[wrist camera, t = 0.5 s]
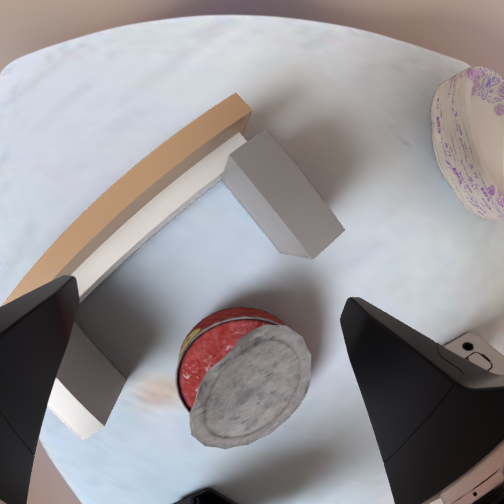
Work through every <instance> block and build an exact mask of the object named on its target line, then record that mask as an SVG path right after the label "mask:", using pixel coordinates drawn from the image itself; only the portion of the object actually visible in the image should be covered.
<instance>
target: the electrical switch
mask: <svg viewBox="0 0 504 504" xmlns="http://www.w3.org/2000/svg"><path fill="white" fill-rule="evenodd" d="M444 347H445V348H447V349H448V350H450V351H452V352H454V353H455V354H457V355H459V356H461V357H463V358H465V359H467V360H468V361H470V362H472V363H474V364H476V365H478V366H480V367H482V368H484V369H486V370H488V371H490V372H492V373H495V374H499V375H504V356H503V355H502V354H501V353H499V352H498V351H497V350H496V349H494V348H493V347H492V346H491V345H489V344H488V343H487V342H485V341H484V340H483V339H482V338H480V337H479V336H478V335H476V334H475V333H472V332H468V333H466V334H464V335H463V336H461V337H459V338H458V339H456V340H454V341H452V342H451V343H449V344H447V345H445V346H444Z"/></svg>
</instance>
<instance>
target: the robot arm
mask: <svg viewBox="0 0 504 504" xmlns="http://www.w3.org/2000/svg"><path fill="white" fill-rule="evenodd" d="M79 303H80V297H79V291H78V285H77V280H76V277H75V276H71V275H63V276H60V277H58V278H56V279H54V280H52V281H50V282H48V283H46V284H44V285H42V286H40V287H38V288H36V289H34V290H32V291H30V292H28V293H26V294H24V295H22V296H20V297H18V298H16V299H15V300H13V301H11V302H9V303H7V304H5V305H3V306H1V307H0V504H26V503H27V496H28V489H29V483H30V477H31V472H32V466H33V461H34V455H35V451H36V447H37V442H38V438H39V434H40V430H41V426H42V422H43V419H44V415H45V412H46V408H47V405H48V401H49V398H50V395H51V392H52V388H53V385H54V382H55V379H56V376H57V373H58V370H59V368H60V365H61V362H62V359H63V356H64V354H65V351H66V348H67V345H68V343H69V339H70V336H71V332H72V328H73V325H74V321H75V317H76V314H77V311H78V307H79ZM340 323H341V327H342V331H343V335H344V340H345V344H346V348H347V352H348V356H349V359H350V362H351V365H352V368H353V371H354V374H355V377H356V379H357V382H358V385H359V388H360V391H361V394H362V397H363V400H364V403H365V406H366V409H367V412H368V415H369V418H370V421H371V424H372V427H373V430H374V433H375V436H376V440H377V443H378V446H379V449H380V453H381V456H382V459H383V462H384V466H385V470H386V473H387V477H388V480H389V484H390V487H391V491H392V495H393V498H394V502H395V504H429V503H431V502H433V501H435V500H437V499H439V498H441V500H442V502H443V504H504V375H499V374H495V373H492V372H490V371H488V370H486V369H484V368H482V367H480V366H478V365H476V364H474V363H472V362H470V361H468V360H467V359H465V358H463V357H461V356H459V355H457V354H455V353H454V352H452V351H450V350H448V349H447V348H445V347H443V346H442V345H440V344H438V343H435V341H433V340H431V339H430V338H428V337H426V336H425V335H423V334H421V333H420V332H418V331H416V330H415V329H413V328H411V327H409V326H408V325H406V324H404V323H403V322H401V321H399V320H398V319H396V318H394V317H392V316H391V315H389V314H387V313H386V312H384V311H382V310H381V309H379V308H377V307H375V306H374V305H372V304H370V303H369V302H367V301H365V300H363V299H362V298H359V297H350V298H348V299H347V301H346V304H345V306H344V309H343V312H342V314H341V318H340ZM207 492H209V493H207ZM176 504H236V503H235V502H233V501H231V500H229V499H227V498H226V497H224V496H222V495H220V494H219V493H217V492H215V491H214V490H212V489H209V488H207V489H204V490H202V491H200V492H198V493H196V494H194V495H192V496H190V497H188V498H186V499H184V500H182V501H180V502H178V503H176Z"/></svg>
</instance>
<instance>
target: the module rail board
mask: <svg viewBox="0 0 504 504" xmlns="http://www.w3.org/2000/svg"><path fill="white" fill-rule="evenodd" d="M251 112H252V110H251V109H250V107H249V106H248V105H247V104H246V103H245V102H244V101H243V100H242V99H241V97H240V96H239V95H238V94H237V93H235V94H233V95H231V96H230V97H228V98H227V99H225V100H224V101H222V102H221V103H219V104H218V105H216V106H214V107H213V108H212V109H210V110H209V111H207V112H206V113H204V114H203V115H201V116H200V117H198V118H197V119H195V120H194V121H193V122H191V123H190V124H188V125H187V126H186V127H184V128H183V129H182V130H180V131H179V132H177V133H176V134H175V135H173V136H172V137H171V138H169V139H168V140H167V141H165V142H164V143H163V144H162V145H160V146H159V147H158V148H156V149H155V150H154V151H153V152H151V153H150V154H149V155H148V156H146V157H145V158H144V159H143V160H142V161H140V162H139V163H138V164H137V165H135V166H134V167H133V168H132V169H131V170H130V171H128V172H127V173H126V174H125V175H124V176H123V177H121V178H120V179H119V180H118V181H117V182H116V183H115V184H113V185H112V186H111V187H110V188H109V189H108V190H107V191H106V192H105V193H103V194H102V195H101V196H100V197H99V198H98V199H97V200H96V201H95V202H94V203H93V204H92V205H91V206H90V207H89V208H88V209H87V210H86V211H84V212H83V213H82V214H81V215H80V216H79V217H78V218H77V219H76V220H75V221H74V222H73V223H72V224H71V225H70V226H69V228H68V229H67V230H66V231H65V232H64V233H63V234H62V235H61V236H60V237H59V238H58V239H57V240H56V241H55V242H54V243H53V244H52V246H51V247H50V248H49V249H48V250H47V251H46V252H45V253H44V254H43V256H42V257H41V258H40V259H39V260H38V261H37V262H36V264H35V265H34V266H33V267H32V268H31V269H30V271H29V272H28V273H27V274H26V275H25V277H24V278H23V279H22V280H21V282H20V283H19V284H18V285H17V287H16V288H15V289H14V290H13V292H12V293H11V294H10V296H9V297H8V298H7V299H6V301H5V302H4V303H3V305H5V304H7V303H9V302H11V301H13V300H15V299H16V298H18V297H20V296H22V295H24V294H26V293H28V292H30V291H32V290H34V289H36V288H38V287H40V286H42V285H44V284H46V283H48V282H50V281H52V280H54V279H56V278H58V277H60V276H63V275H71V276H75V277H76V280H77V285H78V291H79V297H80V303H81V302H82V301H83V300H84V299H85V298H86V297H87V296H88V295H89V294H90V293H91V292H92V291H93V290H94V289H95V288H96V287H97V286H98V285H100V284H101V283H102V282H103V281H104V280H105V279H106V278H107V277H108V276H109V275H110V274H111V273H112V272H113V271H114V270H115V269H117V268H118V267H119V266H120V265H121V264H122V263H123V262H124V261H125V260H126V259H127V258H129V257H130V256H131V255H132V254H133V253H134V252H135V251H136V250H137V249H139V248H140V247H141V246H142V245H143V244H144V243H145V242H146V241H148V240H149V239H150V238H151V237H152V236H153V235H155V234H156V233H157V232H158V231H159V230H160V229H161V228H163V227H164V226H165V225H166V224H167V223H169V222H170V221H171V220H172V219H173V218H174V217H176V216H177V215H178V214H179V213H180V212H182V211H183V210H184V209H185V208H187V207H188V206H189V205H190V204H191V203H193V202H194V201H195V200H196V199H198V198H199V197H200V196H201V195H203V194H204V193H205V192H206V191H208V190H209V189H210V188H211V187H213V186H214V185H215V184H216V183H218V182H219V181H220V180H222V182H223V183H224V184H225V185H226V187H227V188H228V189H229V190H230V191H231V193H232V194H233V195H234V196H235V198H236V199H237V200H238V201H239V202H240V204H241V205H242V206H243V207H244V209H245V210H246V211H247V212H248V214H249V215H250V216H251V217H252V218H253V220H254V221H255V222H256V223H257V225H258V226H259V227H260V228H261V230H262V231H263V232H264V233H265V235H266V236H267V237H268V238H269V240H270V241H271V242H272V243H273V245H274V246H275V247H276V248H277V250H278V251H279V252H280V253H283V254H288V255H293V256H298V257H303V258H308V259H314V258H315V257H316V256H317V255H318V254H319V253H321V252H322V251H323V250H324V249H325V248H326V247H327V246H328V245H329V244H331V243H332V242H333V241H334V240H335V239H336V238H337V237H338V236H339V235H340V234H342V233H343V232H344V231H345V229H344V228H343V226H342V225H341V224H340V222H339V221H338V219H337V218H336V217H335V215H334V214H333V212H332V211H331V210H330V208H329V207H328V206H327V204H326V203H325V202H324V200H323V199H322V198H321V196H320V195H319V194H318V192H317V191H316V190H315V188H314V187H313V186H312V185H311V183H310V182H309V181H308V179H307V178H306V177H305V176H304V174H303V173H302V172H301V170H300V169H299V168H298V167H297V165H296V164H295V163H294V162H293V160H292V159H291V158H290V157H289V155H288V154H287V153H286V152H285V151H284V149H283V148H282V147H281V146H280V145H279V143H278V142H277V141H276V140H275V139H274V137H273V136H272V135H271V134H270V133H269V131H268V130H267V129H266V128H265V129H264V130H263V131H261V132H260V133H258V134H257V135H255V136H254V137H253V138H251V139H250V140H248V141H247V140H246V139H245V138H244V137H243V136H242V135H243V132H244V130H245V127H246V125H247V122H248V120H249V117H250V115H251ZM80 303H79V304H80ZM3 305H2V306H3ZM126 380H127V379H126V378H125V377H124V376H123V375H122V374H121V373H120V372H119V371H118V370H117V369H116V368H115V367H114V366H113V365H112V363H111V362H110V361H109V360H108V359H107V358H106V357H105V356H104V355H103V354H102V353H101V351H100V350H99V349H98V348H97V347H96V346H95V345H94V343H93V342H92V341H91V340H90V339H89V338H88V336H87V335H86V334H85V333H84V332H83V331H82V329H81V328H80V327H79V326H78V324H77V323H76V322H75V321H74V325H73V328H72V332H71V336H70V339H69V343H68V345H67V348H66V351H65V354H64V356H63V359H62V362H61V365H60V368H59V370H58V373H57V376H56V379H55V382H54V385H53V388H52V392H51V395H50V398H49V401H48V405H47V406H48V407H49V408H50V409H51V410H52V411H53V412H54V413H55V414H56V415H57V416H58V417H59V418H60V419H61V420H62V421H63V422H64V423H65V424H66V425H67V426H68V427H69V428H70V429H71V430H72V431H73V432H74V433H75V434H76V435H77V436H78V437H80V438H81V439H82V440H83V441H84V440H85V439H87V438H88V437H90V436H91V435H93V434H94V433H96V432H97V431H98V430H100V429H101V428H103V427H104V426H105V424H106V422H107V420H108V418H109V415H110V413H111V411H112V409H113V407H114V405H115V403H116V401H117V399H118V397H119V395H120V393H121V391H122V389H123V386H124V384H125V382H126Z"/></svg>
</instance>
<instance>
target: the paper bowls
mask: <svg viewBox="0 0 504 504" xmlns="http://www.w3.org/2000/svg"><path fill="white" fill-rule="evenodd" d="M431 129H432V143H433V148H434V153H435V156H436V159H437V162H438V165H439V167H440V170H441V172H442V174H443V176H444V177H445V179H446V180H447V182H448V183H449V185H450V186H451V188H452V189H453V191H454V193H455V195H456V196H457V198H458V199H459V200H460V201H461V203H462V204H463V205H464V206H465V208H466V209H467V210H469V211H470V212H471V213H472V214H474V215H475V216H477V217H479V218H481V219H485V220H504V79H503V78H502V77H501V76H500V75H498V74H497V73H496V72H494V71H493V70H491V69H489V68H486V67H483V66H473V67H470V68H468V69H466V70H464V71H462V72H460V73H459V74H458V75H455V76H453V77H452V78H450V79H448V80H447V81H445V82H443V83H442V84H441V85H440V86H439V87H438V88H437V90H436V92H435V94H434V96H433V100H432V104H431Z"/></svg>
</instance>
